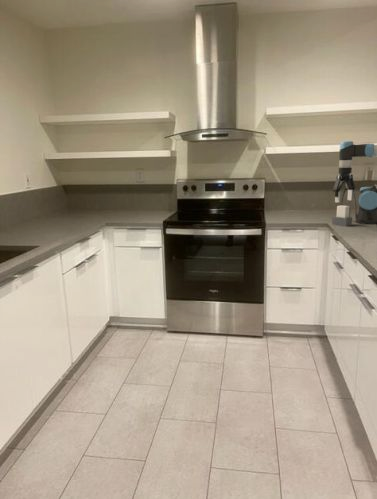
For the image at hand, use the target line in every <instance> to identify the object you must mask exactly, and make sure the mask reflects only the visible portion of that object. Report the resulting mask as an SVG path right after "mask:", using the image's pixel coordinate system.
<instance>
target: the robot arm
mask: <svg viewBox="0 0 377 499" xmlns="http://www.w3.org/2000/svg"><path fill="white" fill-rule="evenodd" d="M353 158H377V144H374V143H361V144H359V143H358V144H354V142H353V141H352V140H351V141H350V140H349V141H342V142H340V144H339V158H338V167H339V168H338V174H339V175H336V179H335V182H334V186H333V188H332V192H334V203H340V202H341V199H340V198H341V196H340V195H341V191H340V190H341V188H342V186H343V184H345V182H346V184H347V186H348V188H349V190H348V192H347V201H349V200H350V201H353V190H354V191H355V189H356V185H355V181H354V175H353V174H352V172H353V170H352V166H353ZM359 189H360V190H359V197H358V211H357V216H356V218H355V219H354V222H355V223H356V224H357V223H358V224H366V225H375V224H376V225H377V184H374V185H372V186H362V187H360V188H359Z"/></svg>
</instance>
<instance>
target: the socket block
mask: <svg viewBox="0 0 377 499" xmlns="http://www.w3.org/2000/svg"><path fill="white" fill-rule="evenodd" d="M336 216H337V215H335V216H332V218H331V225H333V226H334V225H335V226H340V227H348V226H349V225H350V226H352V225H353V223H352V222H353V217H352V216H350V217H347V218H341V217H336Z"/></svg>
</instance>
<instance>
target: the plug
mask: <svg viewBox="0 0 377 499" xmlns="http://www.w3.org/2000/svg"><path fill="white" fill-rule="evenodd" d="M349 208H350V209H351V205H350V206H349V205H343V204H342V205H341V206H340V205H337V206H336V215H335V216H336V217H341V218H347V217H349Z"/></svg>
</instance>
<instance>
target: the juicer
mask: <svg viewBox="0 0 377 499" xmlns="http://www.w3.org/2000/svg"><path fill="white" fill-rule="evenodd" d="M344 184H345V187H343V191H342V195H341V197H340V198H341V199H340V204H339V206H341V205H342V206H343V202H344V197H345V193H346V192H347V193H348V190H349V188H348V186H347V184H346V182H344ZM352 198H353V206H354V215H355V218H356V216H357V213H358V211H357V200H356V193H355V189H354V190H353V192H352ZM348 206H350V208H349V217H351V200H348Z"/></svg>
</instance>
